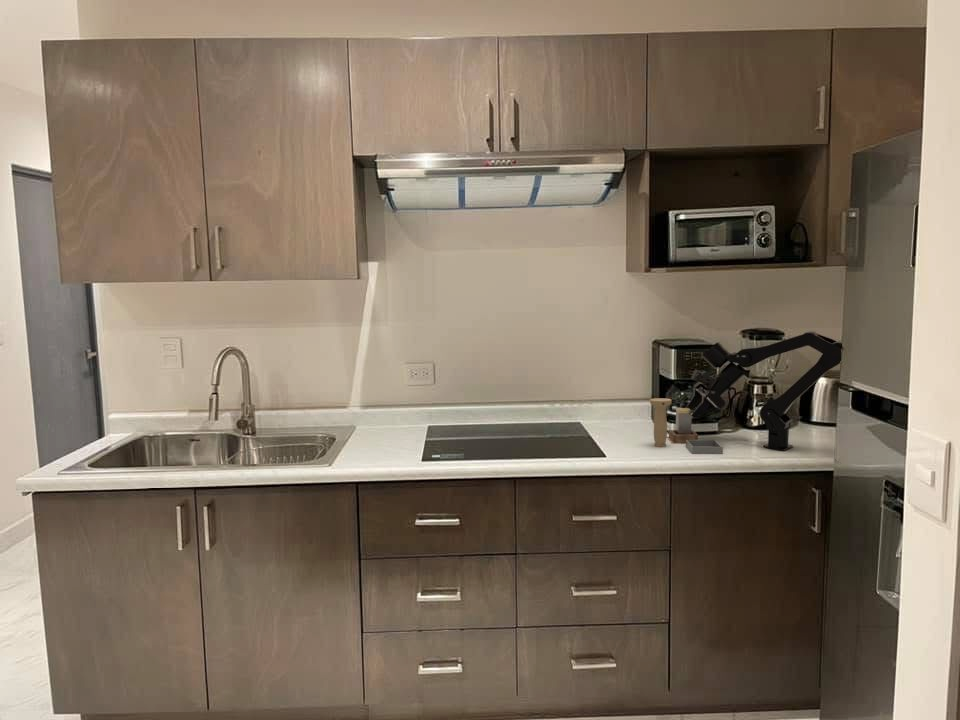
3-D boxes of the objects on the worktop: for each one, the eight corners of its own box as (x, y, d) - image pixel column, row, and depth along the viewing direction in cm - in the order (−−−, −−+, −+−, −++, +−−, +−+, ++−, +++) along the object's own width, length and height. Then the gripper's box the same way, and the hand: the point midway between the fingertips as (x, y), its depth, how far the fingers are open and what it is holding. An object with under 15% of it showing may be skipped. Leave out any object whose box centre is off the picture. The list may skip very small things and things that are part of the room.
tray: (714, 447, 206) (715, 439, 206) (722, 455, 197) (722, 447, 197) (685, 447, 207) (685, 439, 206) (692, 455, 198) (692, 447, 198)
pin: (688, 438, 216) (688, 408, 215) (691, 441, 212) (691, 410, 211) (675, 438, 216) (676, 408, 215) (678, 441, 212) (678, 410, 211)
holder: (694, 438, 218) (694, 429, 218) (701, 445, 209) (701, 435, 209) (666, 438, 219) (666, 429, 219) (671, 445, 210) (671, 435, 210)
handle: (647, 445, 210) (648, 398, 208) (667, 445, 210) (668, 398, 209) (652, 449, 205) (652, 401, 204) (672, 448, 206) (673, 400, 204)
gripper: (700, 357, 220) (665, 390, 222) (715, 365, 201) (677, 401, 204) (724, 381, 220) (689, 414, 223) (741, 391, 202) (702, 426, 204)
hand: (689, 413), depth 213 cm, fingers open, 9 cm apart
